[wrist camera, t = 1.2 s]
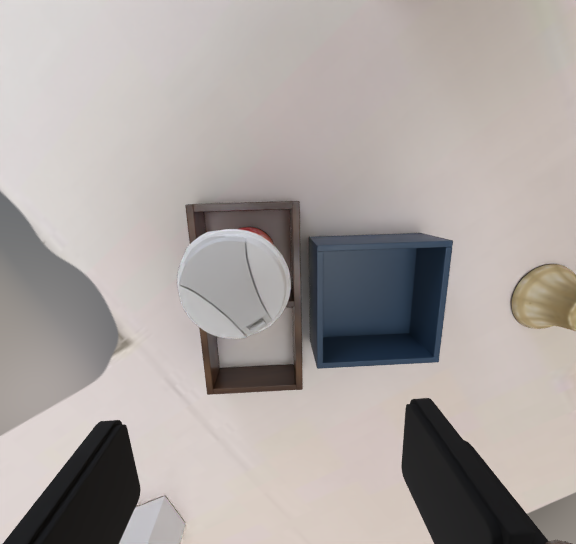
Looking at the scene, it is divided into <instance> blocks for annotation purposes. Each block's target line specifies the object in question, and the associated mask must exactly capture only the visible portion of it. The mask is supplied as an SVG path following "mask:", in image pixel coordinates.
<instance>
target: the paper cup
mask: <svg viewBox="0 0 576 544" xmlns="http://www.w3.org/2000/svg"><path fill="white" fill-rule="evenodd" d="M177 287H178V293H179V297H180V301H181V304H182V306H183V308H184V310H185V312H186V314H187V315H188V317H189V318H190V319H191V320H192V321H193V322H194V323H195V324H196V325H197V326H198V327H199V328H201V329H202V330H204V331H206V332H207V333H209V334H212V335H214V336H217V337H221V338H228V339H240V338H246V337H247V336H249V335H253V334H256V333H259V332H261V331H262V330H264V329H266V328H268V327H269V326H270V325H272V324H273V323H274V322H275V321H276V320H277V319H278V318H279V317H280V315H281V314H282V313H283V311H284V309H285V307H286V305H287V303H288V300H289V297H290V291H291V279H290V273H289V269H288V266H287V264H286V262H285V260H284V258H283V256H282V255H281V253H280V252H279V251H278V249H277V248H276V247H275V245H274V243H273V241H272V239H271V238H270V237H269V236H268V235H267V234H266V233H265V232H264V231H262V230H260V229H258V228H254V227H243V228H239V229H224V230H219V231H211V232H206V233H205V234H203V235H201V236H199V237H198V238H197V239H195V240H194V241H193V242H192V243H191V244H190V245H189V246H188V247H187V248H186V251H185V253H184V256H183V258H182V261H181V263H180V266H179V270H178V275H177Z"/></svg>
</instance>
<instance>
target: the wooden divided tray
mask: <svg viewBox="0 0 576 544" xmlns="http://www.w3.org/2000/svg"><path fill="white" fill-rule="evenodd" d="M185 206H186V214H187V223H188V232H189V240H190V244H191V243H192V242H193V241H194V240H195V239H197V238H198V237H199V236H201V235H203V234H205V233H206V229H205V219H204V212H214V211H247V210H280V209H290V233H291V273H292V289H291V291H290V297H289V300H288V303H287V305H286V307H292V312H293V352H294V365H276V366H257V367H237V368H219V358H218V348H217V338H216V336H214V335H212V334H209V333H207V332H206V331H204V330H202V329H201V328H200V336H201V344H202V353H203V361H204V370H205V379H206V387H207V394H208V395H209V394H228V393H246V392H264V391H282V390H302V389H303V387H302V328H301V269H300V211H299V201H279V202H244V203H210V204H188V205H185Z"/></svg>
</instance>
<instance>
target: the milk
mask: <svg viewBox="0 0 576 544" xmlns="http://www.w3.org/2000/svg"><path fill="white" fill-rule="evenodd" d="M184 528H185V522H184V521H183V519H182V518H181V517H180V515H179V514H178V513H177V511H176V510H175V509H174V507H173V506H172V505H171V503H170V502H169V501H168V499H167V498H166V496H163V497H161V498H158V499H156V500H153V501H151V502H148V503H146V504H143V505H141V506H138V507H136V508H135V509H134V511H133V514H132V516H131V518H130V520H129V522H128V525H127V527H126V529H125V531H124V534H123V536H122V538H121V540H120V542H119V544H180V542H181V539H182V535H183V531H184Z"/></svg>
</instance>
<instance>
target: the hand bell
mask: <svg viewBox="0 0 576 544" xmlns="http://www.w3.org/2000/svg"><path fill="white" fill-rule="evenodd" d="M512 311H513V315H514V316H515V318H516V319H517V321H518V322H519V323H521V324H522V325H524V326H526V327H529V328H536V329H541V328H548V327H551V326H559V327H563V328H567V329H570V330H573V331H576V275H575V274H574V273H573V272H572V271H571V270H570V269H569V268H567V267H565V266H562V265H557V264H549V265H544V266H541V267H538V268H536V269H534V270H533V271H531V272H530V273H528V274H527V275H526V276H525V277H524V278H523V279H522V280H521V281H520V282H519V284H518V285H517V287H516V289H515V291H514V293H513V297H512Z"/></svg>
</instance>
